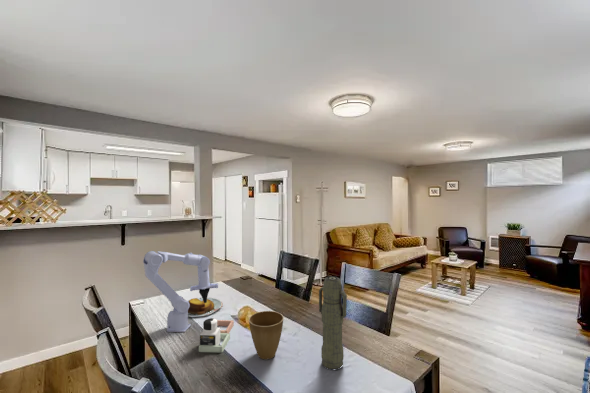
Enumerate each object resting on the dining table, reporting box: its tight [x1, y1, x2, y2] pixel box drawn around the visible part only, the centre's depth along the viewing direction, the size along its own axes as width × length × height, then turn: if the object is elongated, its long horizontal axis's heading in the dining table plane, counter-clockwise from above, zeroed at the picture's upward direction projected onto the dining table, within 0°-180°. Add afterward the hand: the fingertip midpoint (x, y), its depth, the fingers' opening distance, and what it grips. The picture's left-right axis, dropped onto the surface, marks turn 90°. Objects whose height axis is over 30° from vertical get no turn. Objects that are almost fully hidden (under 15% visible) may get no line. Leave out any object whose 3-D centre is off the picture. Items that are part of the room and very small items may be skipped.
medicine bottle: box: [199, 317, 221, 345], centre depth 128 cm, size 7×7×12 cm
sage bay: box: [198, 332, 231, 353], centre depth 129 cm, size 10×12×2 cm
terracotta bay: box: [216, 319, 235, 333], centre depth 143 cm, size 10×12×2 cm
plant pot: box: [248, 310, 285, 360], centre depth 121 cm, size 15×15×16 cm
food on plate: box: [187, 296, 223, 318], centre depth 170 cm, size 25×25×7 cm
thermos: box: [318, 275, 348, 370], centre depth 115 cm, size 9×12×35 cm
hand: (205, 302), depth 154 cm, fingers closed
